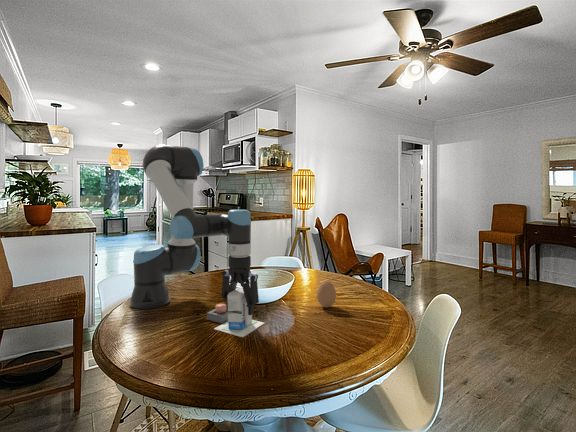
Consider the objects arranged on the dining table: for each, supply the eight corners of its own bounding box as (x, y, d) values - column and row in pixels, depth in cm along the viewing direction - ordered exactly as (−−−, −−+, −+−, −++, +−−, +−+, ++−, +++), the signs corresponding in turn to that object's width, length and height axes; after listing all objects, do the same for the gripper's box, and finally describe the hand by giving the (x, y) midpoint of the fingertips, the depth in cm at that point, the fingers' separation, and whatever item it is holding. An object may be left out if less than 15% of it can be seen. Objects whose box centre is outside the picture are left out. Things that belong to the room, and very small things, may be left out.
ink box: (241, 330, 108) (240, 295, 108) (227, 329, 110) (226, 294, 109) (250, 320, 117) (250, 288, 116) (237, 319, 118) (236, 287, 117)
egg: (322, 311, 128) (322, 284, 127) (313, 305, 135) (313, 279, 134) (339, 309, 130) (339, 282, 130) (330, 303, 137) (330, 277, 137)
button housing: (207, 319, 119) (207, 312, 119) (220, 313, 125) (219, 306, 125) (222, 323, 116) (222, 316, 116) (234, 316, 122) (234, 310, 122)
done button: (213, 312, 120) (213, 306, 119) (220, 309, 123) (220, 302, 123) (221, 314, 118) (221, 307, 118) (228, 311, 121) (228, 304, 121)
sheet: (214, 329, 111) (214, 327, 111) (237, 317, 122) (237, 315, 122) (242, 337, 105) (242, 335, 105) (264, 323, 116) (264, 322, 116)
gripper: (209, 254, 113) (210, 319, 115) (257, 260, 103) (257, 331, 105) (224, 250, 119) (224, 312, 121) (270, 256, 110) (269, 323, 112)
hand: (239, 321), depth 113 cm, fingers open, 7 cm apart
